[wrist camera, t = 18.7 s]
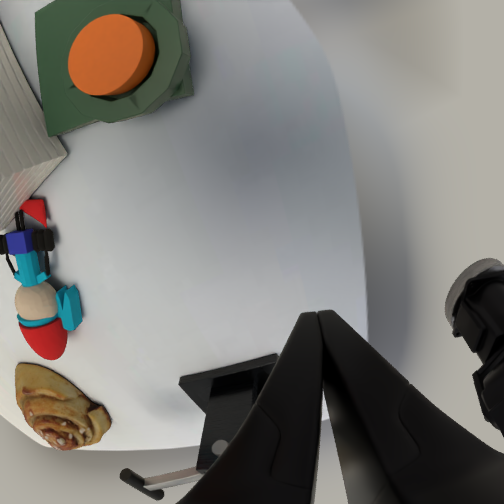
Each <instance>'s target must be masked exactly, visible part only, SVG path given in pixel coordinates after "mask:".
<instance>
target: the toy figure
mask: <svg viewBox="0 0 504 504" xmlns="http://www.w3.org/2000/svg"><path fill="white" fill-rule="evenodd" d="M19 209H20V210H19V213H18V211H17V212H16V213H15V221H16V227H17V230H15V231H13V232H10V233H6V234H5V235H0V254H1V255H3V254H5V253H6V260H7V262H8V265H9V267H10V269H11V271H12V273H13V275H14V278H15V279H16V280H18V281H19V282H21V283H22V285H21V286H20V287H19V288H18V290H17V292H16V296H15V306H16V310H17V312H18V314H17V318H18V320H19V327H20V329H21V332H22V334H23V336H24V338H25V339H26V341H27V343H28V344H29V345H30V347H31V348H32V349H33V350H34V351H35V352H36V353H37V354H38V355H40V356H41V357H43V358H44V359H47V360H56V359H58V358H59V357H61V355H62V354H63V353H64V351H65V348H66V344H67V330H69V331H72V330H75V329H76V328H77V327H78V325H79V324H80V323H81V322H82V321H83V320H82V314H81V307H80V300H79V293H78V290H77V289H76V287H75V285H73V286H72V287H71V288H69V289H67V287H66V285H65V286H64V287H63V288H61V289H60V290H59V291H57V292H56V291H55V289H54V288H53V287H52V286H51V285H50V284H49V283H47V282H45V281H44V280H46V279H48V278H49V277H51V274H50V268H49V256H48V251H52V250H54V248H55V245H54V237H53V232H52V230H51V229H46V230H45V231H44V230H39V231H38V230H34V231H33V228H31V229H25V223H24V217H23V212H25V213H27V214H28V215H30V216H32V217H33V218H35V219H36V220H38V221H39V222H41V223H42V224H43V225H44V226H45V227H46V228H47V222H46V212H45V205H44V201H43V200H42V199H30V200H26V201H25V202H24V203H23V204H22V205H21V207H20V208H19ZM19 217H20V220H19ZM20 224H21V227H20ZM39 251H45V257H44V258H45V271H44V272H42V273H41V270H40V266H39V261H38V256H37V252H39ZM8 254H10V255H13V256H15V257H16V261H17V266H18V271H15V269H14V267H13V265H12V263H11V261H10V259H9V255H8Z"/></svg>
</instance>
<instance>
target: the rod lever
mask: <svg viewBox="0 0 504 504" xmlns="http://www.w3.org/2000/svg"><path fill="white" fill-rule="evenodd" d="M203 475H204V474H203ZM203 475H202V474H201V473H199V472H198V471H196V466H195V467H192V468H188V469H184V470H180V471H176V472H172V473H167V474H163V475H159V476H154V477H148V478H142V477H141V476H139V475H138V474H136V473H135V472H133V471H132V470H130V469H128V468H126V469H123V470H122V471H121V473H120V479H121V480H122V481H124V482H125V483H127V484H129V485H131V486H132V487H134V488H136V489H137V490H139V491H140V492H142V493H144V494H146V495H147V496H149V497H151V498H153V499H155V500H161V499H162V498H163V497H164V491H163V490H162V489H163V488H167V487H173V486H177V485H182V484H186V483H191V482H195V481H199V480H200V479H201V477H202V476H203Z"/></svg>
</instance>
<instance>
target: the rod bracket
mask: <svg viewBox="0 0 504 504" xmlns="http://www.w3.org/2000/svg"><path fill="white" fill-rule="evenodd" d="M278 358H279V357H278V355H277V354H273V355H270V356H266V357H262V358H259V359H255V360H251V361H248V362H244V363H240V364H236V365H232V366H228V367H224V368H220V369H216V370H212V371H207V372H203V373H198V374H194V375H189V376H185V377H181V378H180V380H179V386H180V387H181V388H182V389H183V390H184V391H185V392H186V394H187V395H188V396H189V397H190V398H191V399H192V400H193V401H194V402H195V403H196V404H197V405H198V406H199V407H200V408H201V409H202V411H203V412H204V413H205V414H206V417H205V422H204V428H203V433H202V438H201V444H200V449H199V454H198V461H197V465H196V471H198V472H199V473H201V474H202V475H203V474H205V473H206V472H207V470H208V469H209V468H210V467H211V466H212V464H213V463H214V462H215V461H216V460H217V458H218V457H219V456H220V455H221V454H222V452H223V451H224V450H225V449H226V447H227V446H228V445H229V443H230V442H231V440H232V439H233V438H234V436H235V435H236V434H237V432H238V431H239V429H240V427H241V426H242V424H243V423H244V421H245V419H246V418H247V416H248V414H249V412H250V411H251V409H252V407H253V405H254V404H255V402H256V400H257V398H258V396H259V394H260V393H261V391H262V389H263V387H264V385H265V383H266V381H267V379H268V377H269V376H270V374H271V372H272V370H273V368H274V366H275V364H276V362H277V360H278Z"/></svg>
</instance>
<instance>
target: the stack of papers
mask: <svg viewBox="0 0 504 504" xmlns="http://www.w3.org/2000/svg"><path fill="white" fill-rule="evenodd" d="M67 155H68V154H67V152H66V151H65V149H64V147H63V146H62V144H61V142H60V141H59V139H58V137H57V136H53V137H48V134H47V128H46V123H45V117H44V113H43V111H42V109H41V107H40V106H39V104H38V102H37V100H36V98H35V96H34V94H33V92H32V91H31V89H30V87H29V85H28V83H27V81H26V79H25V77H24V75H23V73H22V71H21V69H20V67H19V65H18V62H17V60H16V58H15V56H14V54H13V52H12V50H11V47H10V45H9V43H8V41H7V38H6V36H5V34H4V31H3V29H2V27H1V24H0V231H2V230H4V229H5V228H6V227H7V226H8V224H9V223H10V222H11V220H12V219H13V218H14V216H15V213H16V212H17V211H19V210H20V209H19V208H20V207H21V205H22V204H23V203H24V202H25V201H26V200H28V199H29V197H30V196H31V195H32V194H33V193H34V191H35V190H36V189H37V188H38V187H39V185H40V184H41V183H42V182H43V181H44V180H45V178H46V177H47V176H48V175H49V174H50V173H51V172H52V171H53V170H54V168H55V167H56V166H57V165H58V164H59V163H60V162H61V161H62V160H63V159H64V158H65V157H66V156H67Z"/></svg>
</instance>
